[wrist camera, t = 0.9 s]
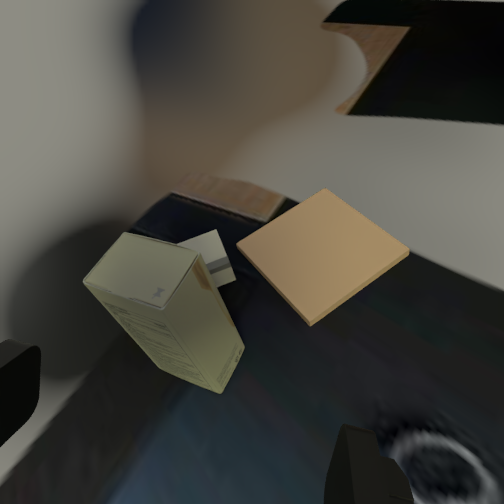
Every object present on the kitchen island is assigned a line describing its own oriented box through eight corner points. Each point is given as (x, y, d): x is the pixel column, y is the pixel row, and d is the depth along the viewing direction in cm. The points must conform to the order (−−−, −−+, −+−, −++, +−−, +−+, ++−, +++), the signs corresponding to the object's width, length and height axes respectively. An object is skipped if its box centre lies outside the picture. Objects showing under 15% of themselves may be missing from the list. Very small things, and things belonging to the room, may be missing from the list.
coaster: (325, 193, 42) (324, 187, 41) (408, 254, 35) (409, 248, 35) (237, 249, 39) (236, 243, 39) (310, 326, 33) (309, 321, 32)
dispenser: (221, 242, 40) (214, 224, 38) (236, 279, 37) (229, 262, 35) (124, 279, 39) (113, 263, 37) (131, 320, 36) (119, 305, 34)
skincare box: (247, 346, 33) (207, 250, 23) (222, 397, 30) (167, 312, 21) (181, 322, 35) (122, 227, 26) (153, 367, 33) (78, 280, 24)
